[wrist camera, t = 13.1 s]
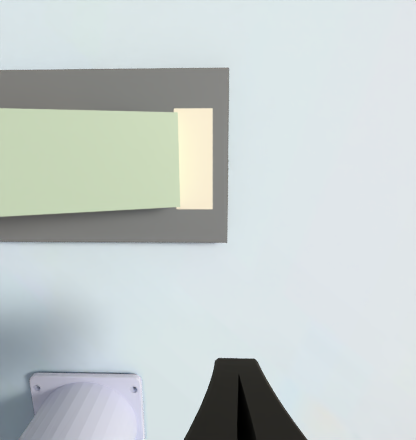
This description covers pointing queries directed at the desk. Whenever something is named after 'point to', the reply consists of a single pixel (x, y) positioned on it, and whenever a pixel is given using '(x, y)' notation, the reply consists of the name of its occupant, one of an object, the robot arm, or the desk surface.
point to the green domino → (87, 161)
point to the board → (147, 102)
